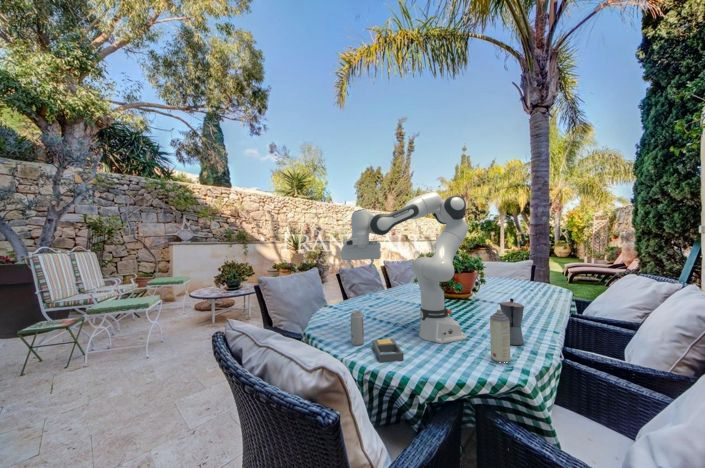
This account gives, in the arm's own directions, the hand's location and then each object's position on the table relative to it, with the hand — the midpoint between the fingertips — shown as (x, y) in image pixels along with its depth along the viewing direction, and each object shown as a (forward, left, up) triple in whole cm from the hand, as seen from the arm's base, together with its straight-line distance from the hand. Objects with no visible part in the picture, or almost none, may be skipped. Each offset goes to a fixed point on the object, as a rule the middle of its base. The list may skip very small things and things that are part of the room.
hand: (361, 268), depth 139 cm
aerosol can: (-50, +36, -34) cm, 71 cm away
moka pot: (-66, +22, -34) cm, 78 cm away
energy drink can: (+4, +10, -34) cm, 36 cm away
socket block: (-7, +22, -34) cm, 41 cm away
